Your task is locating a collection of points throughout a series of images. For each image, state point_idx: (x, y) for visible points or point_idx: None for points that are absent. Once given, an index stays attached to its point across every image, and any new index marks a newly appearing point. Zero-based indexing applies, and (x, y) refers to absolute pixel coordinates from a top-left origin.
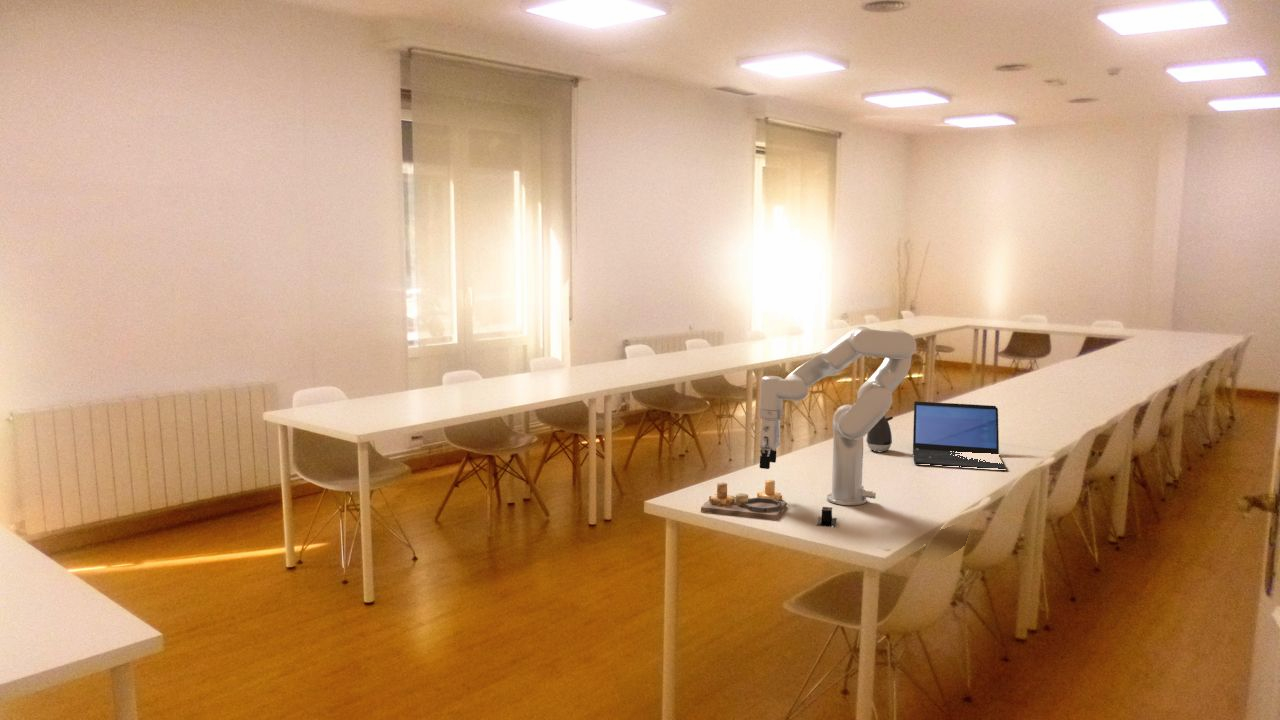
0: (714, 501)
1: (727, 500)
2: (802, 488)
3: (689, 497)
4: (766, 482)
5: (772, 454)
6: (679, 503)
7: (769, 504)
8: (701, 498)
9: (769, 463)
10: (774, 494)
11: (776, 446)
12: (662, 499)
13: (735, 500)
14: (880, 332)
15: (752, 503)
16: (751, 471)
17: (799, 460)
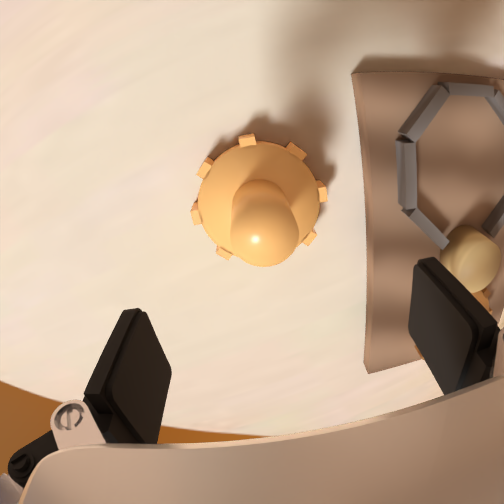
0: None
1: (487, 294)
2: (10, 150)
3: (365, 408)
4: (295, 245)
5: (136, 387)
6: (426, 394)
7: (431, 142)
8: (366, 387)
9: (458, 281)
10: (254, 179)
11: (421, 447)
12: None
13: None
14: None
15: (441, 217)
16: (4, 373)
17: None
